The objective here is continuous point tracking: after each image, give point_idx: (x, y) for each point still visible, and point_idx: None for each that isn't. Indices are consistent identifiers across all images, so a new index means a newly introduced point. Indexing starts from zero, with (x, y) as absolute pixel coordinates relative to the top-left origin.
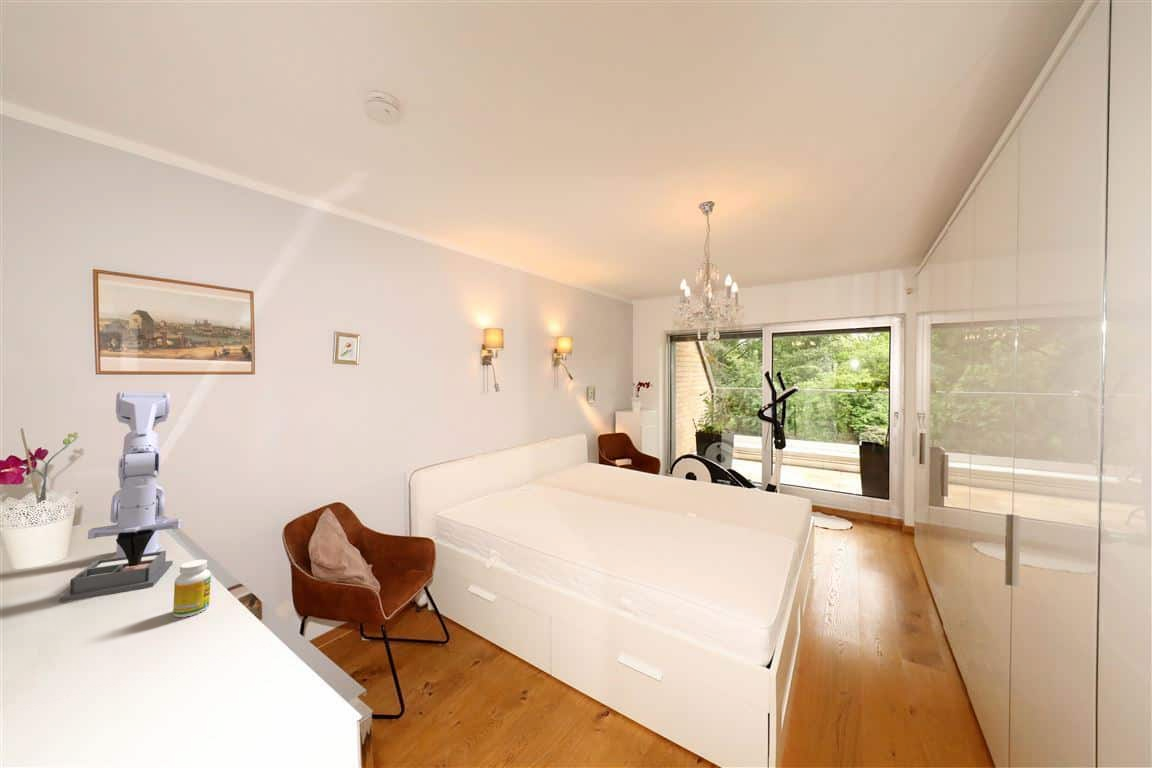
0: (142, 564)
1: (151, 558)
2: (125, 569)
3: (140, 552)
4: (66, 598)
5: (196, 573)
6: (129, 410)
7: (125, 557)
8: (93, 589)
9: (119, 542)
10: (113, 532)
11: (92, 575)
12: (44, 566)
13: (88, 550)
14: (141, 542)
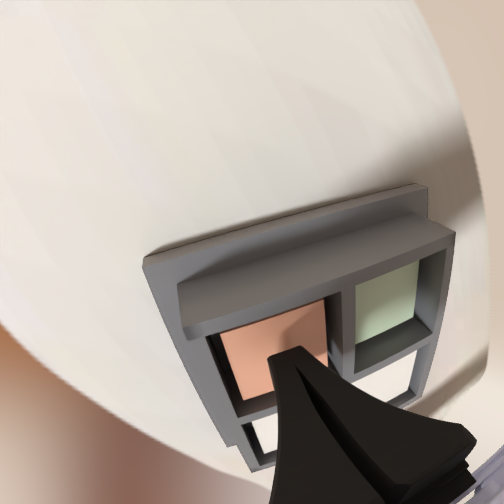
0: (269, 389)
1: (269, 433)
2: (314, 342)
3: (278, 417)
4: (408, 189)
5: None
6: None
7: None
8: (362, 230)
9: (446, 431)
10: (495, 475)
11: (406, 317)
12: (459, 393)
13: None
14: (298, 483)
